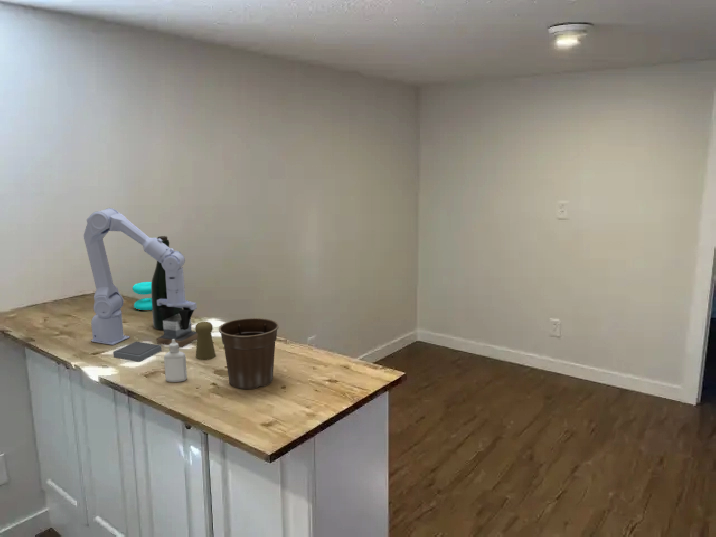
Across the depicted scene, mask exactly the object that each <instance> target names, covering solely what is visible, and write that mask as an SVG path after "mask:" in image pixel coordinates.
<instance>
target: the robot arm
mask: <svg viewBox="0 0 716 537" xmlns="http://www.w3.org/2000/svg"><path fill="white" fill-rule="evenodd" d="M85 226H86V227H85V230H84V233H83V240H84V244H85V248H86V251H87V256H88V260H89V264H90V268H91V273H92V277H93V282H94V285H95V291H94V294H93V295H94V296H93V299H94V303H93V311H94V313H95V315H93V317H92V319H91V322H90V325H91V331H92V334H91V335H92V339H91V340H90V341H92V343H99V344H105V345H111V346H114V345H116V344H118V343H121V342H123V341H126V340H128V339H130V336H129V335H125V334H124V325H123V315H122V310H121V308H122V307H123V306H124V302H125V300H124V298H123V296H122V295H121V293H120V291H119V288H118V287H117V286H116V285H115V284H114V282H113V281H114V280H113V277H112V272H111V268H110V264H109V261H108V255H107V251H106V248H105V242H104V237H106V235H107V234H108V233H109V232H122V233H123V234H125V235H126V236H128V237H129V238H131V239H132V240H134V241H135V242H136V243H138V244H140V245H141V246H142V248H143V252H144V253H146V254H147V255H149V256H150V257H151V258H153V259H154V260H156V262H157V261H158V262H160V263H162V267H163V269H164V270H165V274H166V276H165V277H166V291H167V299H158V300H157V306H160V305H162V307H161V308H159V311H160V312H161V313H162V315H163V316H164V318H165V319H167V318H170V317H172V316H173V314H174V307H179V308H183V309H182V310H179V313H180V316H181V319H182V327H183V330H186V329H188V328H189V323H190V319H191V320H192V316H193V313H194V312H195V310H197V307H198V306H197V302H193V301H190V300H188V299H187V300H186V292H185V291H186V288H185V276H184V267H183V266H184V265H185V262H186V260H185V256H184V254H182V253H181V251H178V250H175V249H174V248H173V247H171V248H170V246H169V247H168V246H167V245H165V244H164V243H162V240H161V239H160V238H159V239H157V237H156V236H155V237H150V236H148V235H147V234H146V233H145V232H144V231H143V230H141V229H140V228H138V227H137V225H135V224H133V222H132V221H130V220H129V219H128V218H127V217H126V216H125V215H124V214H123V213H121V212H119V211H118V210H117V209H115V208H113V207H109V208H105V209H102V210H99V211H94V212H92V213H91V214H90V215H89V217H88V218H87V219H86V225H85Z"/></svg>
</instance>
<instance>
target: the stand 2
mask: <svg viewBox="0 0 716 537" xmlns="http://www.w3.org/2000/svg"><path fill="white" fill-rule="evenodd" d="M194 341H197V333H196V331H193V330H192V332H191V333H189V334H187V335H185V336H183V337H181V338H179V339H177V340H176V339H175V342H176V343H178V345H179V348H183V347H185V346H187V345H189V344H191V343H192V342H194ZM171 343H172V339H169V338H164V334H162V335H160V336H158V337H156V344H158V345H160V344H161V345H166V346H167V345H168V346H169V344H171Z"/></svg>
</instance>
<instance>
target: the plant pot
mask: <svg viewBox="0 0 716 537" xmlns="http://www.w3.org/2000/svg"><path fill="white" fill-rule="evenodd" d="M279 326H280V324H279V323H278V322H277V321H276V320H272V319H268V318H264V317H263V318H261V317H250V318H246V317H245V318H239V319H238V318H237V319H234V320H230V321H227V322H224V323H223V324H221V325H220V326H219V327H218V331H219V334H220V336H221V342H222V345H223V347H224V348H223V349H224V355H225V362H226V369H227V376H228V383H229V384H230V385H231V386H232V387H233V388H235V389H241V390H253V389H258V387H262V388H264V387H266V386H268V385H270V384H271V383H272V382H273V380H274V369H275V366H274V365H275V354H276V353H275V352H276V351H275V350H276V342H277V338H278V336H277V335H278V330H279Z"/></svg>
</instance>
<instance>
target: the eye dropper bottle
mask: <svg viewBox="0 0 716 537" xmlns="http://www.w3.org/2000/svg"><path fill="white" fill-rule="evenodd" d="M168 346H169V351H168V352H166V353H165V354H164V355H163V362H164V375H165V376H164V377H165V381H166V382H168V383H179V382H184V381H186V379H187V378H188V374H187V373H188V372H187V360H186V353H185V352H184V351H180V350H179V349H180V347H179V345H178V343H176V342H175V339H172V343H171V344H169V345H168Z"/></svg>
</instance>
